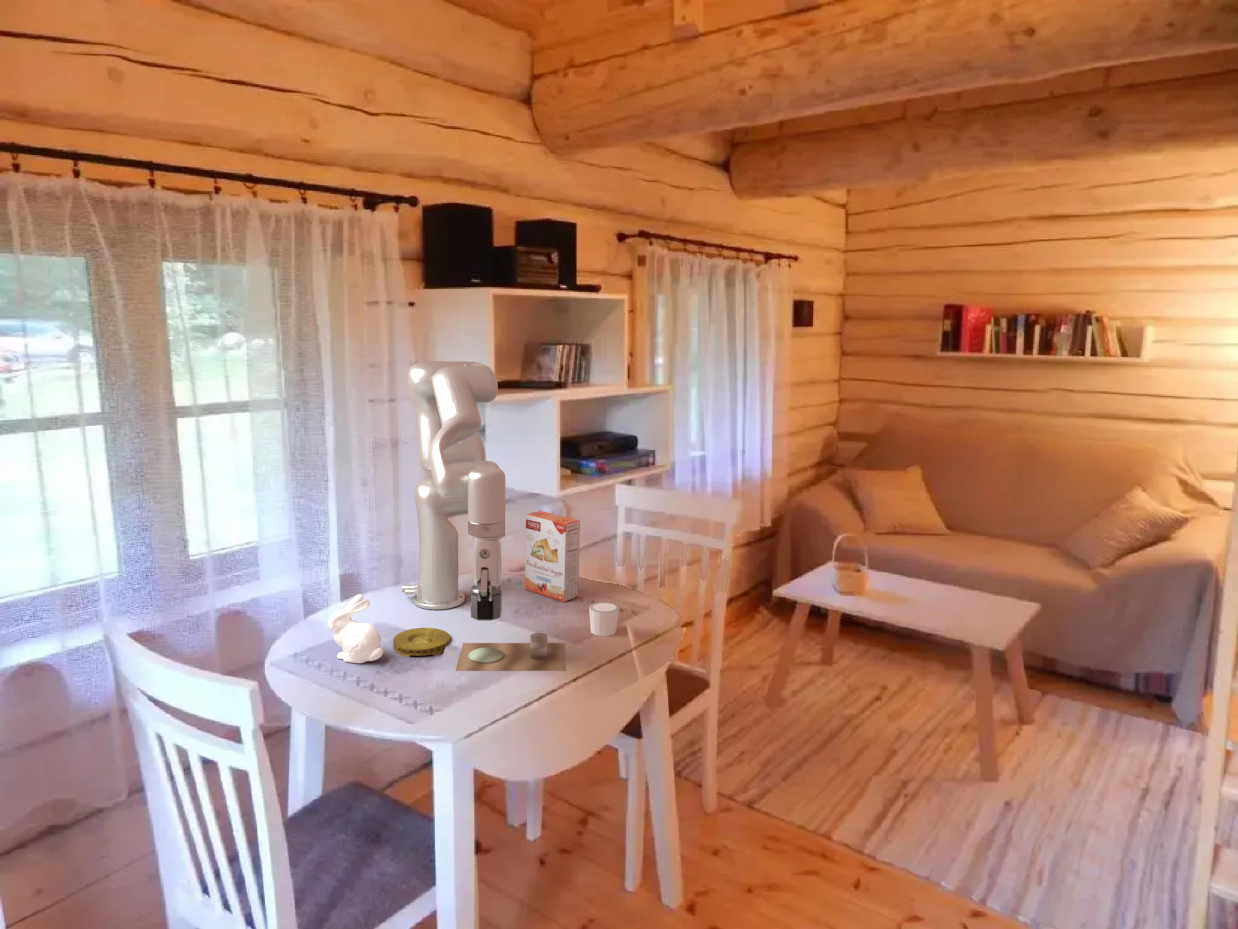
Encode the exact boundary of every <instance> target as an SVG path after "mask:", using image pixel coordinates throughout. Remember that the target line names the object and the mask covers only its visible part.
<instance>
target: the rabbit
mask: <svg viewBox="0 0 1238 929" xmlns="http://www.w3.org/2000/svg"><path fill="white" fill-rule="evenodd" d="M370 605H371V601H370V600H369V599H364V595H363V594H361V593H359V594H357V595H355V596H354V597H353V598H352V599H351V601H350V602H349V603H348V604H347V605H346V607H345V608H343V609H341V610H336V611H334V612H333V613H332V614H331V615H330V617H329V619H328V621H327V629H328V630H330V631H333V639H334V642H335V643H336V644H337V645H338V646H339V647H341V648H342V651H341V652H338V654H337V656H336V658H337V659H338V660H339V659H340V660H343V661H344V663H351V664H352V663H354V664H364V663H367V662H374V661H377V660H379V659H380V658H381V657H382V656H383V653H384V650H383V648H381V645H382V644H381V642H382V638H381V635H380V632H378V629H376V627H375V626H374V625H372V624H370V623H366V622H365V623H364V622H362V623H359V622H358V621H357V620H353V619H352V617H351V616H353V615H355V614H356V613H360V612H363V611H365V610H367V609H368V608H369V607H370Z"/></svg>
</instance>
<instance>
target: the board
mask: <svg viewBox="0 0 1238 929" xmlns="http://www.w3.org/2000/svg"><path fill="white" fill-rule="evenodd" d="M529 637H530V642H462V646H461V649H460V653H459V657H458V661H457V663H456V664H457V665H456V668H455V672H534V671H535V672H537V671H538V672H544V671H545V672H546V671H547V672H555V671H556V672H557V671H558V672H561V671H562V672H564V671H565V672H566V653H565V652H566V651H565V646H566V645H565V642H549V641H548V639H549V638H548V634H547V633H543V632H535V633H532V634H530V636H529Z"/></svg>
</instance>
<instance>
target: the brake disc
mask: <svg viewBox="0 0 1238 929" xmlns="http://www.w3.org/2000/svg"><path fill="white" fill-rule="evenodd" d="M450 641H451V636H450V634H449V633H448V632H447V631H445V630H444V629H440V628H435V627H416V628H411V629H407V630H403V631H401V632H399V633H397V634H396V635H395V636H394V637H393V639H392V644H393V646H392V647H393V650H395V651H396V654H397V655H399V656H402V657H407V658H410V657H411V656H415V657H416V656H418V657H419V656H428V655H432V656H434V657H435V656H437V655H441V654H443V653H445V650H446V647H447V646H448V644H450Z"/></svg>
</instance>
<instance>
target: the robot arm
mask: <svg viewBox="0 0 1238 929" xmlns="http://www.w3.org/2000/svg"><path fill="white" fill-rule="evenodd" d="M406 383H407V389H408V393H409V396H410V399H411V401H412V402H411V403H412V404H413V407H414V409H415V413H416V418H417V420H416V421H417V440H418V458H419V464H420V466H421V468H422V469H423V470H424V471H427V472H430V473H431V477H430V478H426V479H423V480H421V481H420V482H418V484H417V485H416V486H415V488H414V501H415V503H414V504H415V508H416V512H417V522H418V546H419V547H418V551H419V552H418V557H419V561H418V562H419V563H418V564H419V567H418V568H419V581H418V583H415V584H402V586H401V593H404V594H405V595H408V596H411V595H414V596H413V600H412V601H413V604H414V606H416V607H418V608H422V609H426V610H446V609H447V610H448V609H453V608H456V607H458V606H461V605H463V603H464V602H465V601H466V600H465V598H466V597H465V594H464V593H463V592H461V591H460V590H459V532H458V529H457V527H456V526H455V525H454V524H453V523H452V522H451V521H450V520H449V519H448V518H449V517H453V516H459V515H461V516H462V515H467V537H468V538H469V539H471V540H473V570H474V571H473V576H474V577H473V578H474V585H475V586H477V587H478V600H477V619H493V600H492V586H496V587H498V586H499V585H500V584H501V579H502V578H501V577H502V543H501V541H502V540H501V539H503V538H505V537H506V486H507V485H506V483H507V482H506V474H505V471H504V470H502V469H501V468H500V466H499V465H498V464H497V463H496V462H494V461H492V460H486V450H485V444H484V442H483V439H482V437H481V436H480V435H479V434H477V432H478V431H479V430H480V428H481V427H482V426H481V425H482V419H481V418H482V417H481V415H480V412H479V407H478V405H477V404H478V403H491V402H493V401H495V399H496V398H497V396H498V390H499V387H498V385H499V384H498V379H497V377H496V374H495V372H494V370H492V368H491V367H490V366H488V365H486V364H484V363H480V362H478V361H465V360H461V361H456V360H454V361H453V360H451V361H450V360H429V361H420V362H417V363H414V364H412V365H411V366H410V367H409V369H408V371H407V382H406ZM487 583H490V585H487ZM487 589H489V591H487Z"/></svg>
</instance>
